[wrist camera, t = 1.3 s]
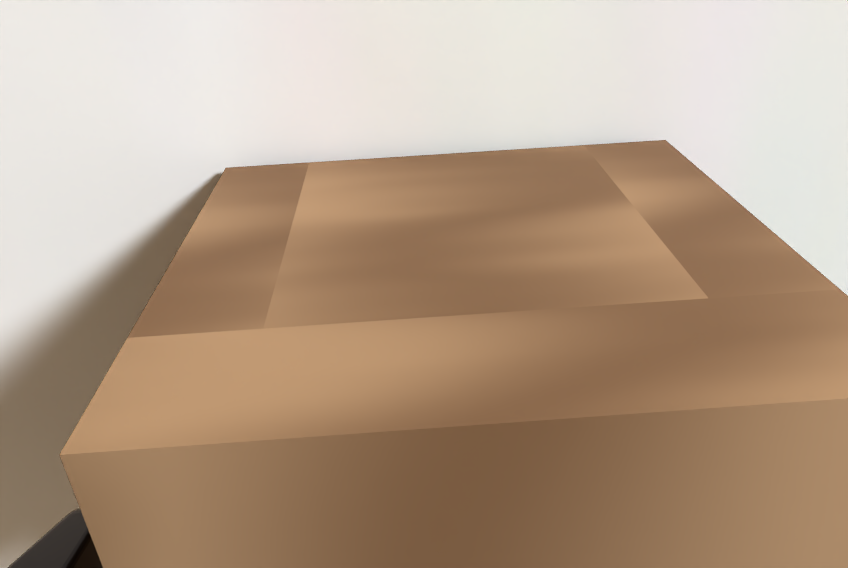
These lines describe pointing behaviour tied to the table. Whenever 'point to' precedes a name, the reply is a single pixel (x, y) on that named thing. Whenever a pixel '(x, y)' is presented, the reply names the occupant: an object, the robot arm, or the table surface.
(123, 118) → the table surface
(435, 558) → the shipping carton
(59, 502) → the table surface
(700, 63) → the table surface
